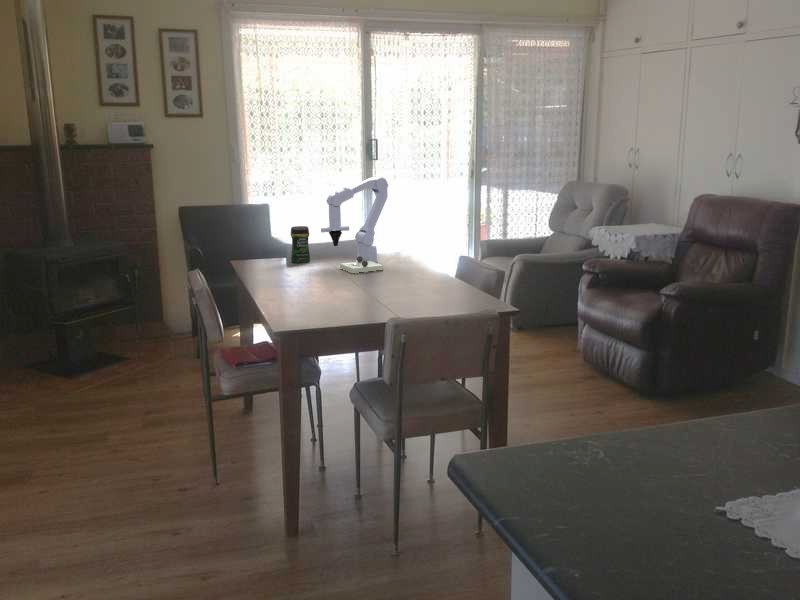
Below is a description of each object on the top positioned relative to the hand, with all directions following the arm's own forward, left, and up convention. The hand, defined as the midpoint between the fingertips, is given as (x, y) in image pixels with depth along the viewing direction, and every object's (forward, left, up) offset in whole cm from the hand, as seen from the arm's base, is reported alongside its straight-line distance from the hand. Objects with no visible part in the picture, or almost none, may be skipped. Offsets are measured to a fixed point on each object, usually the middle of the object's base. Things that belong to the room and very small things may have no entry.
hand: (335, 245), depth 364 cm
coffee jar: (+12, -18, -10) cm, 24 cm away
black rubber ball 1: (-8, +11, -6) cm, 15 cm away
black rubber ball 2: (-5, +23, -6) cm, 24 cm away
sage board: (-6, +17, -10) cm, 21 cm away
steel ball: (-3, +17, -8) cm, 19 cm away
